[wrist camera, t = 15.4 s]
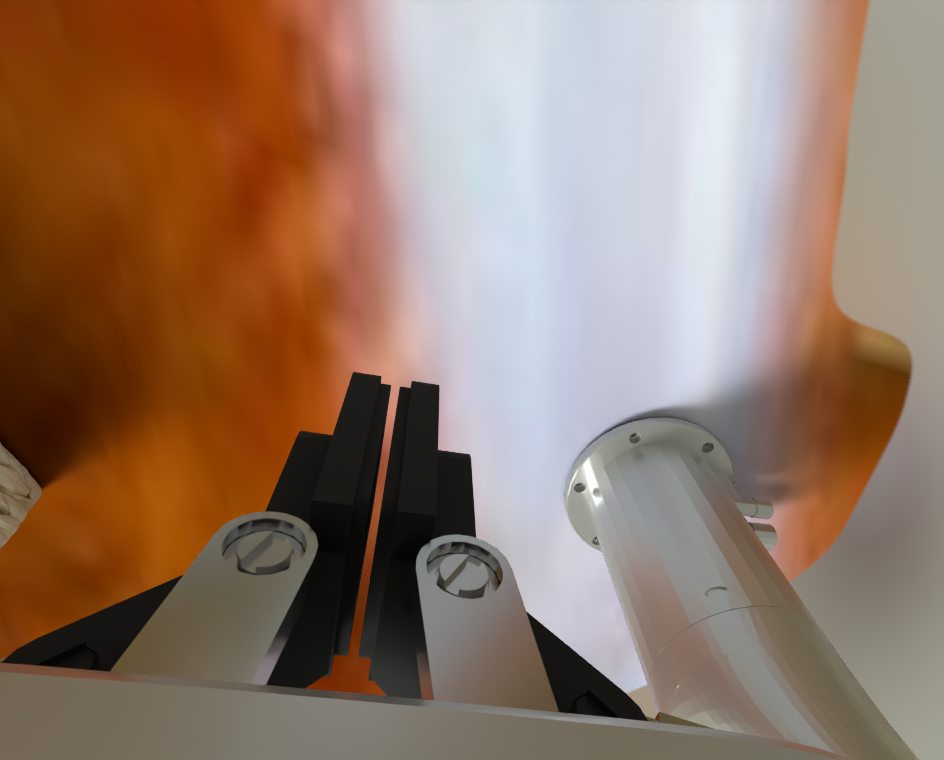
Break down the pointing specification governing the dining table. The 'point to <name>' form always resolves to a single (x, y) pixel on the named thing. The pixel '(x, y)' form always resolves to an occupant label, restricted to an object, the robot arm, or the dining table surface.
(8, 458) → the storage basket
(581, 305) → the dining table surface
